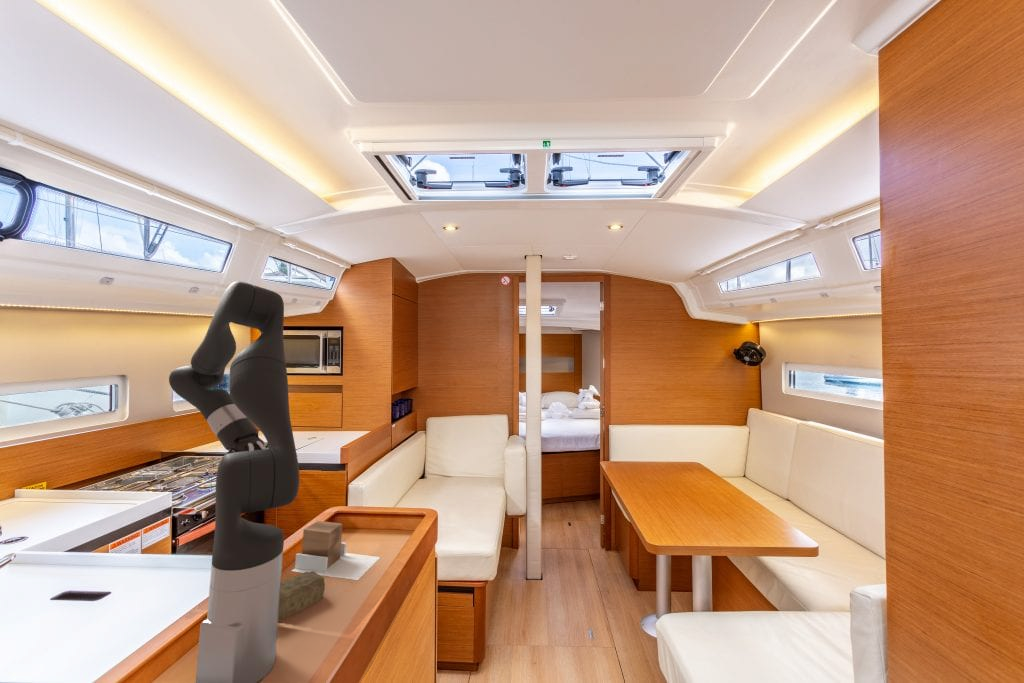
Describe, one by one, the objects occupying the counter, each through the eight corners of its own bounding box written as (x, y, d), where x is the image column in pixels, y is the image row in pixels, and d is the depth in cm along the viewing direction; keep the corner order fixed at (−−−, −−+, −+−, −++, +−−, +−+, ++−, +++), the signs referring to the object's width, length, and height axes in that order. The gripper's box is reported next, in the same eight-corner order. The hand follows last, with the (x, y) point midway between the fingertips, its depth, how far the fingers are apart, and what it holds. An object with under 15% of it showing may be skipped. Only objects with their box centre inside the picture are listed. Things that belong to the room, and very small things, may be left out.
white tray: (357, 583, 83) (358, 565, 83) (275, 571, 86) (276, 554, 86) (380, 559, 92) (381, 544, 93) (305, 550, 96) (306, 535, 96)
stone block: (325, 602, 76) (327, 576, 76) (261, 634, 67) (263, 605, 67) (311, 591, 79) (312, 566, 80) (247, 620, 70) (249, 592, 70)
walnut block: (327, 568, 87) (329, 532, 87) (301, 565, 88) (303, 529, 88) (340, 557, 91) (342, 523, 92) (315, 554, 92) (317, 520, 93)
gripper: (216, 420, 88) (259, 478, 85) (265, 413, 102) (303, 462, 100) (195, 442, 89) (236, 500, 86) (246, 431, 103) (283, 481, 100)
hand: (272, 480), depth 93 cm, fingers open, 4 cm apart
